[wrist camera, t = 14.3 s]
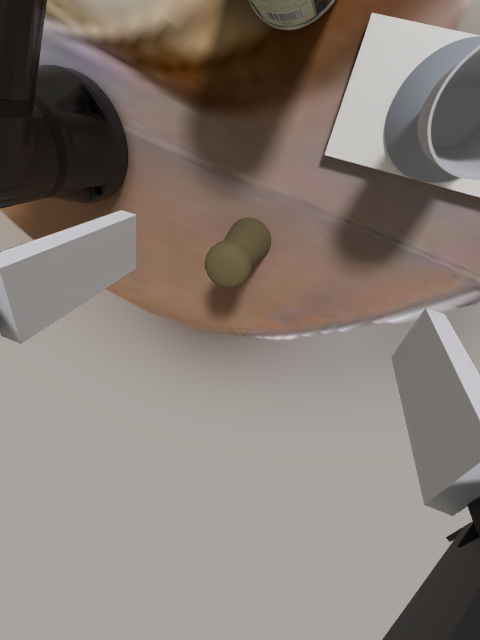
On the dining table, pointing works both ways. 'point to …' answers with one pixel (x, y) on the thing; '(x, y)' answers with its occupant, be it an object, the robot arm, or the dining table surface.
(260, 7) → the coffee can
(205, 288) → the dining table surface
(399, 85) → the board
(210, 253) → the olive peg figure
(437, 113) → the cup
